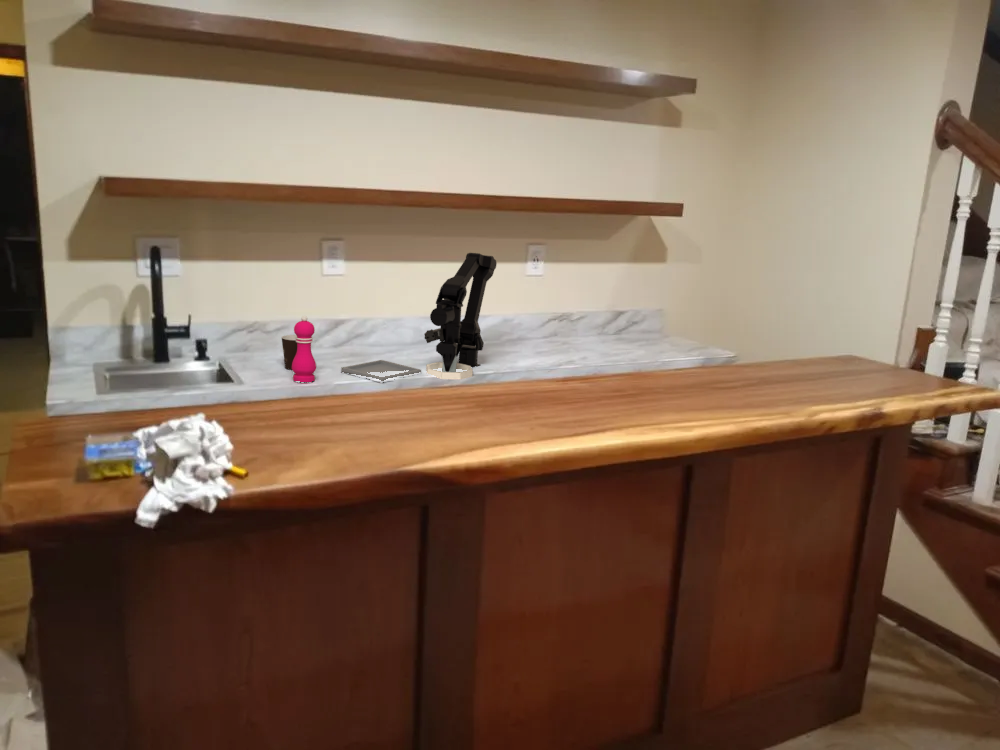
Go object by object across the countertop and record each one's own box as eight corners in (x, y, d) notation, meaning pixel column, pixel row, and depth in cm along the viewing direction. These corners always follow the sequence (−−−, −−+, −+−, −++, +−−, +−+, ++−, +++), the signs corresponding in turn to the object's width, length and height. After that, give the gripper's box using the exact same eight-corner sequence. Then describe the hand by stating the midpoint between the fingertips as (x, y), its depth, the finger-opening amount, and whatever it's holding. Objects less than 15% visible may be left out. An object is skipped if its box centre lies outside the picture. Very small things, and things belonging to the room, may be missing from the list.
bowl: (446, 367, 269) (446, 360, 269) (480, 375, 261) (480, 368, 261) (417, 373, 258) (417, 366, 257) (451, 382, 250) (452, 375, 249)
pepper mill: (293, 377, 243) (294, 313, 238) (317, 378, 244) (318, 314, 239) (289, 383, 236) (289, 317, 231) (314, 384, 237) (314, 318, 232)
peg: (448, 371, 263) (449, 353, 261) (458, 373, 260) (459, 356, 259) (439, 373, 259) (440, 355, 258) (449, 375, 256) (450, 357, 255)
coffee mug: (301, 372, 250) (302, 341, 248) (276, 369, 252) (276, 338, 249) (317, 364, 261) (317, 335, 259) (293, 361, 263) (293, 332, 260)
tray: (381, 364, 268) (381, 359, 267) (421, 374, 257) (421, 369, 257) (341, 372, 253) (341, 367, 253) (381, 383, 243) (381, 378, 243)
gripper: (432, 315, 265) (430, 360, 269) (421, 324, 247) (419, 373, 251) (465, 318, 264) (462, 363, 268) (456, 327, 246) (453, 376, 250)
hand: (449, 368), depth 259 cm, fingers open, 8 cm apart
